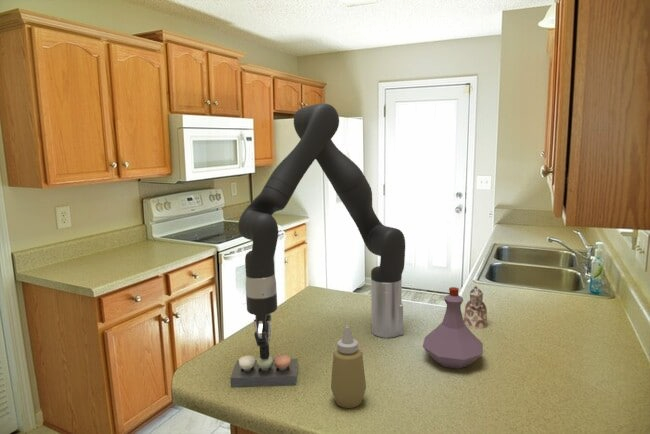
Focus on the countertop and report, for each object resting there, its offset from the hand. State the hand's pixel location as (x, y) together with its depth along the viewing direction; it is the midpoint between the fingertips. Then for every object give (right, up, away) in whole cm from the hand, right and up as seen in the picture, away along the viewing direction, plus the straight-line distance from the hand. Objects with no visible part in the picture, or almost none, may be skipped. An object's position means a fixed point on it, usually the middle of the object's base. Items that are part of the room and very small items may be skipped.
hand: (264, 357), depth 113 cm
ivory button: (-4, -4, +1) cm, 6 cm away
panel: (0, -5, +1) cm, 5 cm away
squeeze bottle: (+21, -7, -11) cm, 24 cm away
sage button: (0, -4, +1) cm, 4 cm away
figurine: (+63, +1, +30) cm, 70 cm away
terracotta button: (+5, -4, +1) cm, 6 cm away
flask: (+50, -3, +7) cm, 50 cm away
